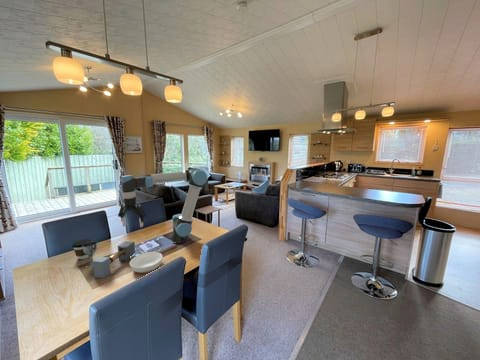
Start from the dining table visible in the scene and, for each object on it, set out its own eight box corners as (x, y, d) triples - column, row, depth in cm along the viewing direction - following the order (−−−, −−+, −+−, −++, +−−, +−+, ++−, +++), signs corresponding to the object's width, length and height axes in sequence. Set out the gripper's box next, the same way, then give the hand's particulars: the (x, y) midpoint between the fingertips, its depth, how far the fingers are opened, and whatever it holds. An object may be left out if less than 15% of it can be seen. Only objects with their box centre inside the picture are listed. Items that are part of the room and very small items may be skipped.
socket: (101, 272, 124) (99, 256, 122) (110, 273, 122) (109, 257, 121) (94, 277, 119) (92, 260, 117) (103, 278, 117) (102, 262, 116)
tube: (122, 253, 138) (122, 247, 138) (127, 253, 138) (127, 248, 137) (98, 268, 120) (98, 262, 119) (104, 269, 119) (103, 263, 119)
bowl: (132, 263, 134) (131, 255, 133) (162, 257, 141) (162, 249, 140) (128, 280, 116) (127, 270, 115) (163, 272, 124) (163, 263, 123)
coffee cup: (96, 255, 143) (94, 240, 141) (79, 263, 133) (77, 247, 131) (87, 252, 147) (86, 237, 146) (70, 259, 138) (68, 243, 136)
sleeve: (127, 254, 145) (126, 241, 143) (135, 255, 144) (134, 241, 142) (118, 260, 137) (117, 246, 136) (127, 261, 136) (126, 247, 134)
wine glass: (102, 262, 134) (100, 242, 132) (90, 268, 127) (87, 247, 125) (94, 260, 137) (92, 240, 135) (81, 266, 129) (79, 245, 127)
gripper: (149, 196, 137) (152, 224, 140) (118, 195, 141) (121, 223, 144) (142, 199, 129) (145, 228, 133) (109, 198, 133) (113, 227, 137)
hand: (133, 226), depth 138 cm, fingers open, 13 cm apart
